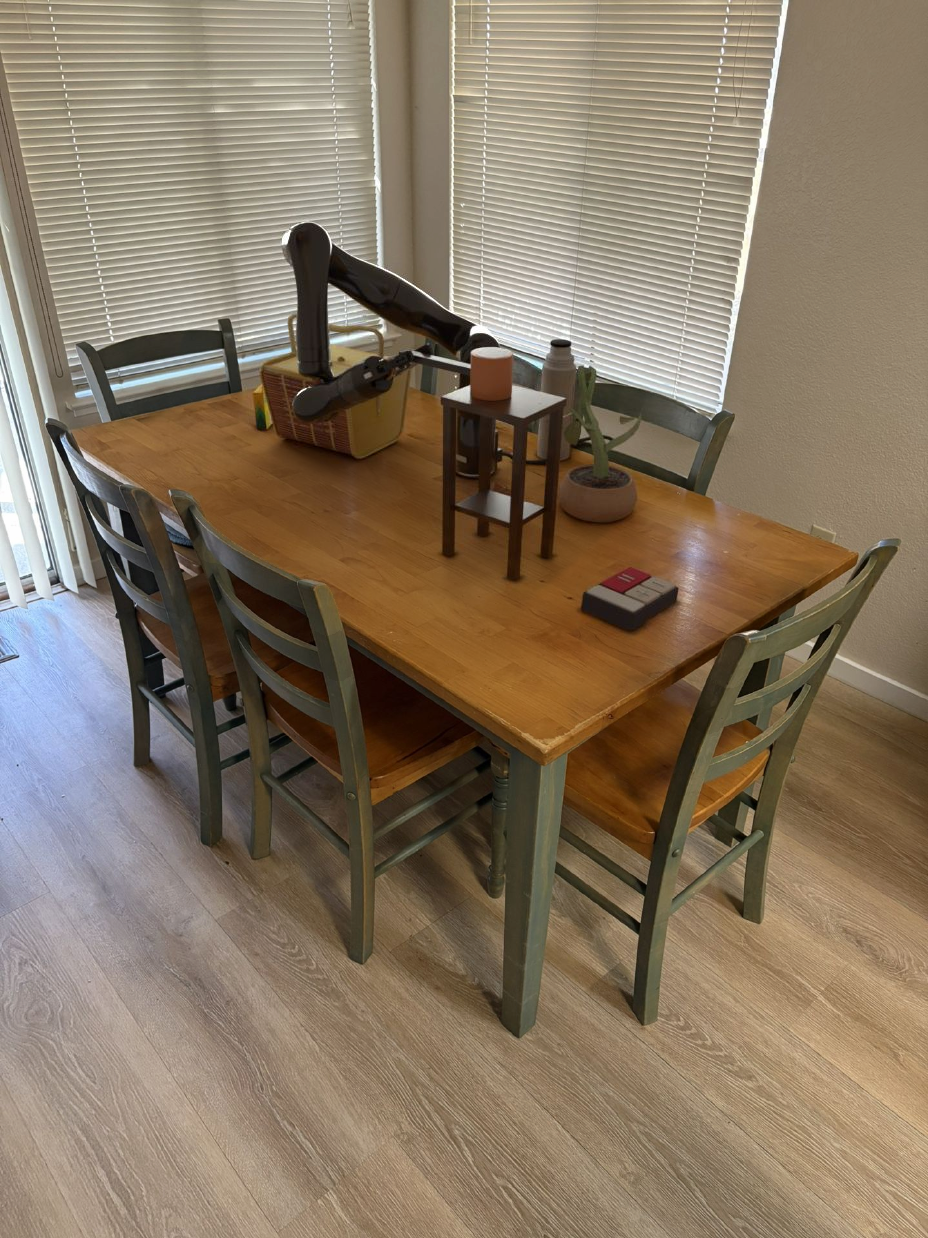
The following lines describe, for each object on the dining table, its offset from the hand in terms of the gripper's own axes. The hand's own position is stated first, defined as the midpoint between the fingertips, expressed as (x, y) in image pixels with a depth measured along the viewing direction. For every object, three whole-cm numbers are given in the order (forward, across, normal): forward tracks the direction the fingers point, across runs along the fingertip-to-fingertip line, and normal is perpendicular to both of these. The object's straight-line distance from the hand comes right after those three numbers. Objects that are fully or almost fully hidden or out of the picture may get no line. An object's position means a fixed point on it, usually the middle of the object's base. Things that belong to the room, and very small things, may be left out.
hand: (421, 351), depth 175 cm
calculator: (+24, -1, +57) cm, 62 cm away
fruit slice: (-12, +19, +36) cm, 42 cm away
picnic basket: (-60, +26, +8) cm, 66 cm away
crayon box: (-80, +22, -4) cm, 83 cm away
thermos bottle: (-19, +52, +31) cm, 64 cm away
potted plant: (0, +32, +42) cm, 53 cm away
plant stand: (-2, 0, +41) cm, 41 cm away
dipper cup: (+4, 0, +8) cm, 9 cm away
